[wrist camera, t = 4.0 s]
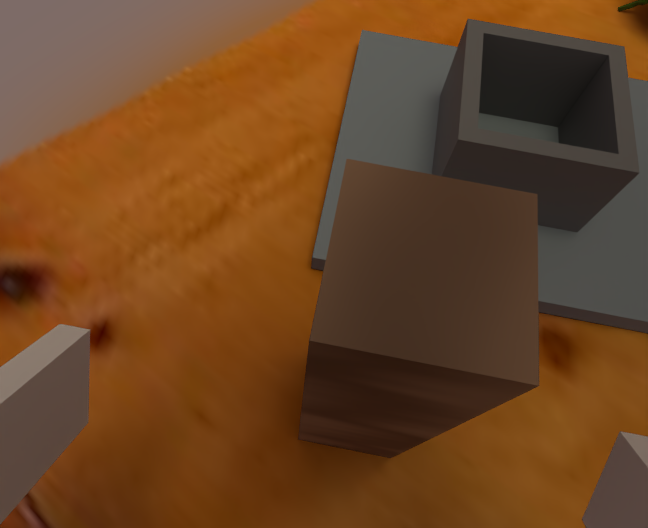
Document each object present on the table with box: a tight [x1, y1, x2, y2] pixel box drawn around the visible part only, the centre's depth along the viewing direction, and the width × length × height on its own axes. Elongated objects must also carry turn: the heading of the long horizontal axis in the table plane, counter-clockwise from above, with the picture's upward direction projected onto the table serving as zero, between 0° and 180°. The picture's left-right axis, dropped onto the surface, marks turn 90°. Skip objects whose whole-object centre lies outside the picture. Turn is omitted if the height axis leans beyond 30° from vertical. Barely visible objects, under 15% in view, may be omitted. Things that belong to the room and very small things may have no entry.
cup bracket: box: [311, 19, 648, 333], centre depth 25 cm, size 18×16×6 cm
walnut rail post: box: [298, 159, 539, 458], centre depth 16 cm, size 4×4×14 cm
